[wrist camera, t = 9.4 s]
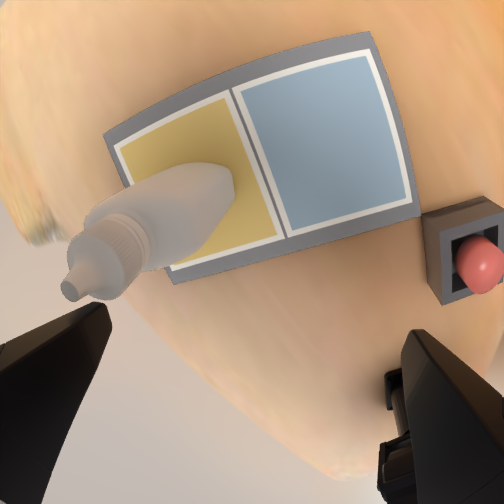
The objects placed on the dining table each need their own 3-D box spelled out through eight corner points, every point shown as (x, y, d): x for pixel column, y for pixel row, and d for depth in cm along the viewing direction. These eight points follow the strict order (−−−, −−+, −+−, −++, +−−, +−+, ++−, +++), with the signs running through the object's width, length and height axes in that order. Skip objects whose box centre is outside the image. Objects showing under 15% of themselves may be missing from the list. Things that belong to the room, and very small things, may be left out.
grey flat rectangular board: (418, 212, 18) (421, 216, 17) (176, 280, 22) (172, 285, 22) (367, 33, 13) (370, 30, 12) (107, 133, 18) (101, 134, 17)
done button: (489, 270, 16) (503, 285, 14) (454, 283, 17) (466, 300, 15) (490, 229, 15) (506, 242, 13) (453, 241, 15) (468, 256, 14)
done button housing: (484, 262, 18) (502, 282, 16) (427, 282, 20) (441, 305, 17) (483, 196, 16) (506, 210, 14) (420, 214, 18) (439, 232, 15)
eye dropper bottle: (222, 235, 19) (145, 379, 8) (144, 205, 19) (15, 305, 8) (245, 172, 17) (171, 266, 6) (161, 142, 17) (6, 191, 6)
